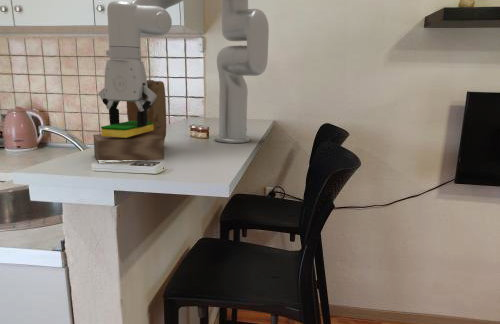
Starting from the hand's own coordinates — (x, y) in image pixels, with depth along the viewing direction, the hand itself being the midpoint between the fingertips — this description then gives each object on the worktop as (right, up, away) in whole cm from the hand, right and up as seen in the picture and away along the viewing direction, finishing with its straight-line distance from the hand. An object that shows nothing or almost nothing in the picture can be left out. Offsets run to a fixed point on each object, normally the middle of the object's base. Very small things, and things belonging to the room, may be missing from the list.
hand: (128, 125), depth 99 cm
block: (0, -5, +17) cm, 18 cm away
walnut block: (0, -9, +2) cm, 9 cm away
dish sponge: (0, -2, +1) cm, 2 cm away
